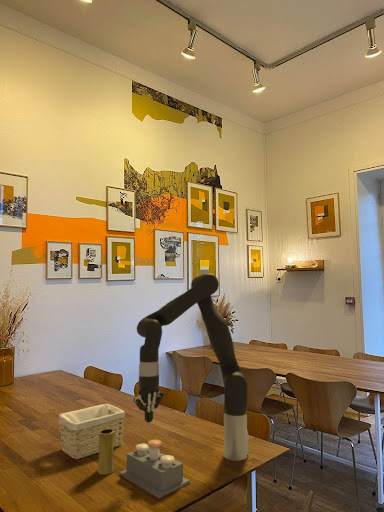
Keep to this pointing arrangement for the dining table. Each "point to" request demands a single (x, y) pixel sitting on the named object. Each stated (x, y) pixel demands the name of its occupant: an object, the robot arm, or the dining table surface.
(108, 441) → the vase
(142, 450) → the knob far
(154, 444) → the knob mid
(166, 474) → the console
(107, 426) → the storage basket
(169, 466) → the knob near
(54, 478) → the dining table surface
